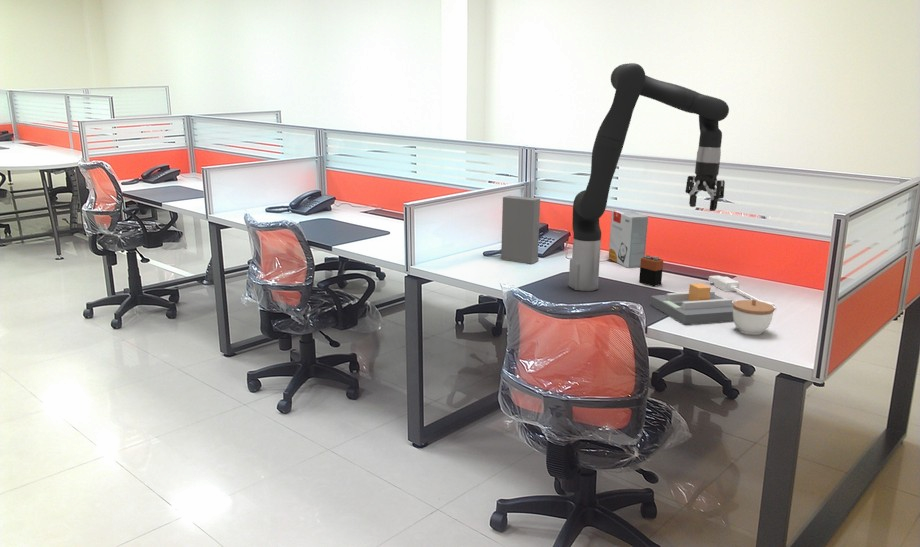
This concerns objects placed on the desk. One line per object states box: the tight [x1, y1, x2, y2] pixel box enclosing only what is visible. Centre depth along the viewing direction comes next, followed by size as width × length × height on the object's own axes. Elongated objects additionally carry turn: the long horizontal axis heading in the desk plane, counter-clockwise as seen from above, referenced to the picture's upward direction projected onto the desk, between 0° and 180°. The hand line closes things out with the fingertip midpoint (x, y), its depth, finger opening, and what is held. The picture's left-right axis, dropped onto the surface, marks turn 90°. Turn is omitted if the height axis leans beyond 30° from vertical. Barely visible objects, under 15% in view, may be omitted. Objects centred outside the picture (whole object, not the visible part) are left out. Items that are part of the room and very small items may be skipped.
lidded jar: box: [732, 298, 775, 336], centre depth 201 cm, size 11×11×9 cm
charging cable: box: [708, 275, 777, 310], centre depth 237 cm, size 5×32×3 cm, turn 15°
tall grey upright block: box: [500, 195, 541, 265], centre depth 278 cm, size 14×6×25 cm, turn 58°
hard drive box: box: [608, 209, 649, 269], centre depth 277 cm, size 16×8×20 cm, turn 17°
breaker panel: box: [650, 290, 734, 326], centre depth 218 cm, size 21×20×5 cm
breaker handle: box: [688, 282, 711, 301], centre depth 217 cm, size 4×5×5 cm
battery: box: [638, 254, 664, 287], centre depth 249 cm, size 4×7×10 cm, turn 37°
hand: (702, 208), depth 241 cm, fingers open, 8 cm apart
